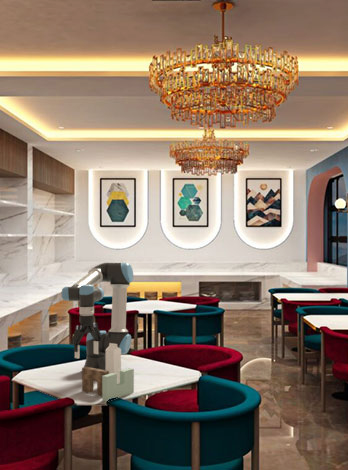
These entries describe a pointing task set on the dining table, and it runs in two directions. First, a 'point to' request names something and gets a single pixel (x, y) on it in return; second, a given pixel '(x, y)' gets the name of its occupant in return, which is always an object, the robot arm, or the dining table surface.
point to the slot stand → (117, 390)
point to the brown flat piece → (92, 379)
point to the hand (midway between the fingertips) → (86, 356)
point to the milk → (113, 360)
